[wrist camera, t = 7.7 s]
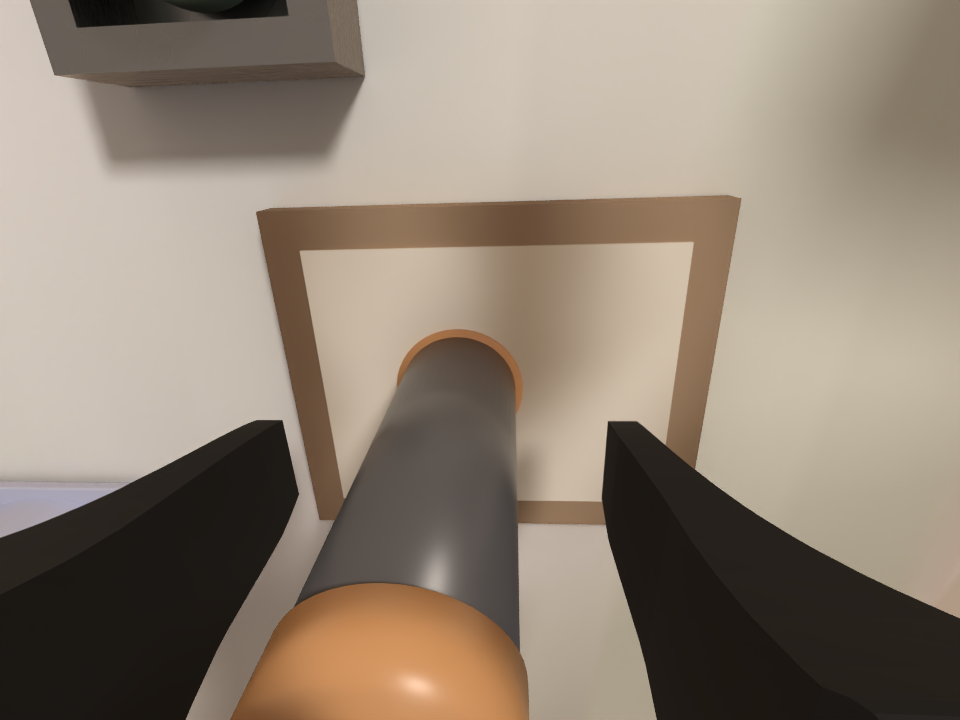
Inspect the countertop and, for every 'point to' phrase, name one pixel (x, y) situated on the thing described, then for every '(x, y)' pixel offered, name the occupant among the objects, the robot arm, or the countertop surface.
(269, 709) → the marker
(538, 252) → the board
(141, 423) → the countertop surface
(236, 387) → the countertop surface
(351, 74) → the button housing
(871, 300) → the countertop surface
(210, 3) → the button
